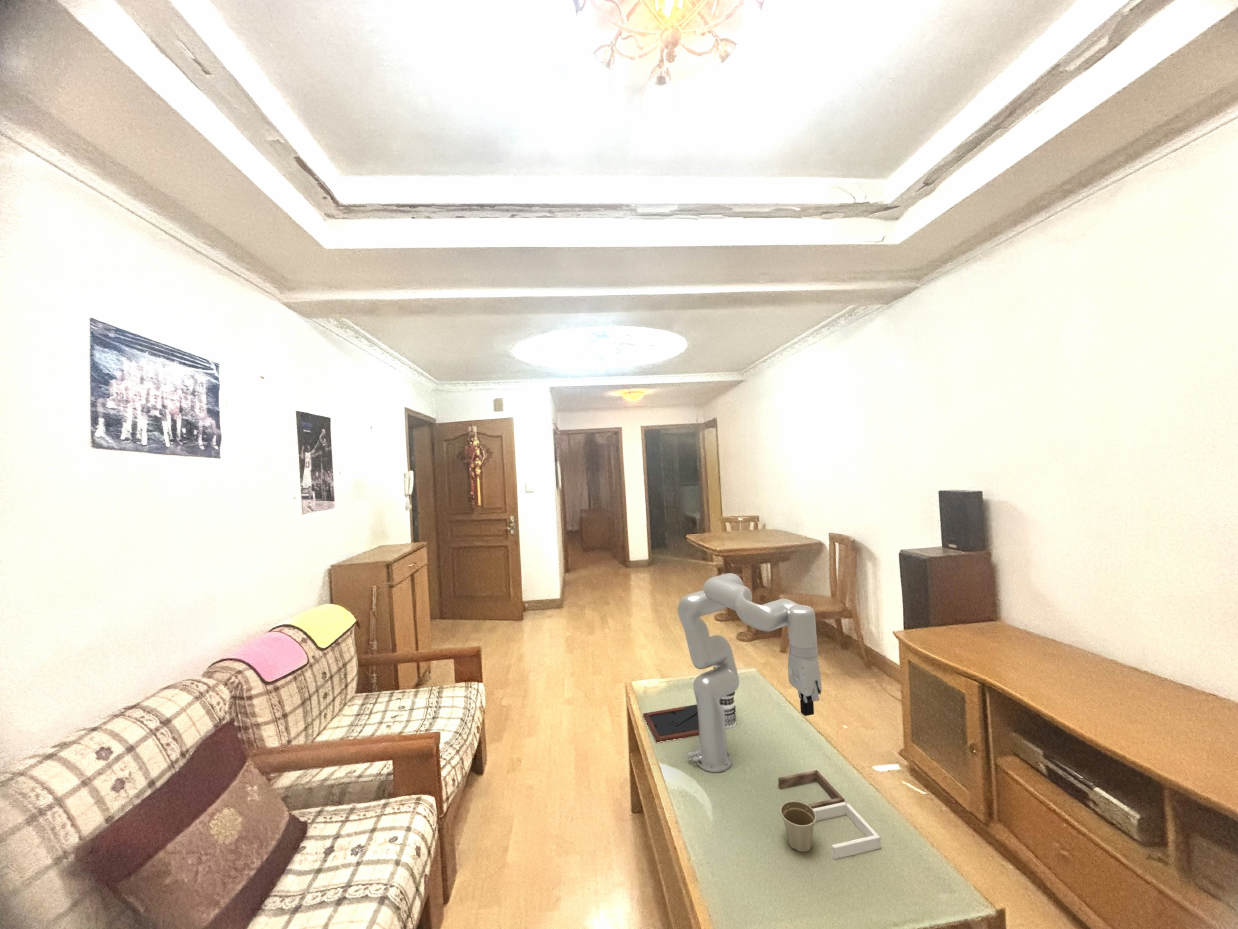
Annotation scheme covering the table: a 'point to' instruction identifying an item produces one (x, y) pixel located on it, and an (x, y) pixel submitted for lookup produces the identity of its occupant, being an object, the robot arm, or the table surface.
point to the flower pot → (798, 824)
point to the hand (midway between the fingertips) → (807, 713)
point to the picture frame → (673, 723)
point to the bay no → (809, 778)
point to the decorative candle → (728, 708)
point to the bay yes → (844, 808)
